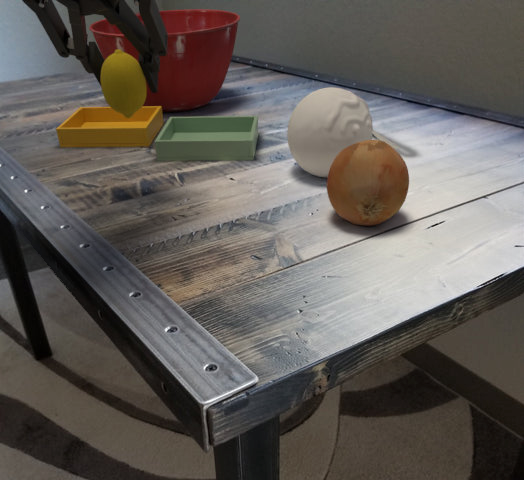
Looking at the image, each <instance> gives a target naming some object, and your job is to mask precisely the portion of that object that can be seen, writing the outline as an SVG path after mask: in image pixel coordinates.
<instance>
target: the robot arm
mask: <svg viewBox="0 0 524 480" xmlns="http://www.w3.org/2000/svg"><path fill="white" fill-rule="evenodd" d="M55 1H56V2H58V3H59V4H61V5H62V6H63V7H65V8H66V9H67V14H68V15H67V16H68V22H69V24H70V29H71V34H70V32H69V30H68V28H67V26H66V24H65V22H64V20H63V18H62V17H61V15H60V13H59V10H58V9H57V7H56V6H55V3H54V1H53V0H21V2H23V3H24V4H25V5H26V6H27V7H28V8H29V9H30V10H31V11H32V12H33V13H34V14H35V15H36V17H37V19H38V20H39V22H40V25H41V26H42V28H43V30H44V31H45V33H46V35H47V36H48V39H49V40H50V42H51V43H52V45H53V47H54V49H55V50H56V52H57V54H58V56H59V57H60V58H64V59H67V58H69V57H70V56H73V57H75V59H76V60H77V61H79V62H80V63H81V65H82V67H83V68H84V70H85V72H87V74H93V75H94V77H95V78H96V81H97V83H98V84H99V86H100V87H101V68H102V65H103V63H104V61H105V60H104V58H103V56H102V54H101V52H100V49H99V47H98V45H97V42H96V41H88V38H89V36H88V35H89V34H88V33H87V23H86V17H88V16H93V15H98V16H102V17H104V19H106V20H107V21H108V22H109V23H110V24H111V25H116V27H117V28H118V29H119V30H120V31H121V32H122V34H123V35H124V36H125V37H126V38H127V39H128V41H129V42H130V43H131V44H132V45H133V46H134V48H135V49H136V50H137V51H138V52H139V61H138V62H139V64H140V67H141V69H142V72H143V74H144V76H145V79H146V81H147V83H148V86H149V88H150V90H151V93H157V91H158V73H159V71H160V58H159V56H166V55H167V43H168V33H167V31H166V28H165V25H164V23H163V20H162V17H161V15H160V12H159V11H160V10H159V7H158V4H157V2H156V0H133V5H134V6H137V7H138V13H140V15H141V18H142V20H143V22H144V25H145V26H144V25H143V23H142V22H141V21H140V20H139V18H138V17H137V16H136V13H135V12H134V11H133V9H132V8H131V7H130V5H129V4H128V3H127V1H126V0H55ZM71 36H72V37H71Z"/></svg>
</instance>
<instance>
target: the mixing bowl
mask: <svg viewBox="0 0 524 480" xmlns="http://www.w3.org/2000/svg"><path fill="white" fill-rule="evenodd" d="M159 12H160V15H161V17H162V20H163V23H164V25H165V28H166V31H167V33H168V43H167V55H166V56H159V58H160V71H159V73H158V91H157V93H151V90H150V88H149V86H148V83H147V81H146V87H147V93H146V99H145V102H144V104H143V106H162V113H172V112H173V113H175V112H176V113H177V112H185V111H190V110H191V111H192V110H195V109H199V108H202V107H204V106H206V105H207V104H209V103H210V102H211V101H212V100H213V99H215V98H216V96H218V94H219V92H220V91H221V89H222V87H223V84H224V82H225V80H226V77H227V74H228V71H229V68H230V65H231V61H232V58H233V53H234V49H235V45H236V39H237V32H238V26H239V23H240V20H241V16H240V15H239V14H237V13H236V12H232V11H227V10H221V9H206V8H205V9H204V8H203V9H201V8H199V9H197V8H196V9H195V8H193V9H191V8H190V9H169V10H167V9H166V10H159ZM135 14H136V16H137V17H138V18H139V20H140V21H141V22H142V23H143V25H144V22H143V20H142V18H141V15H140V12H138V13H135ZM144 26H145V25H144ZM88 28H89V31H90V32H91V33H92V35H93V37H94V41H95V43H96V45H97V46H98V48H99V50H100V52H101V54H102V56H103V58H104V60H106V59H107V57H109V56H110V55H111V54H113V53H114V52H115V50H118V49H120V50H122V51H123V52H124V53H127V54H129V55H131V56H132V57H134V58H135V59H136V60H137V61H139V52H138V51H137V50H136V49H135V48H134V46H133V45H132V44H131V43H130V42H129V41H128V39H127V38H126V37H125V36H124V35H123V34H122V32H121V31H120V30H119V29H118V28H117V27H116V25H111V24H110V23H109V22H108V21H107V20H106V18H104V19H100V20H97V21H95V22H92V23H91V24H90V25H89V27H88ZM138 63H139V62H138ZM145 80H146V79H145Z"/></svg>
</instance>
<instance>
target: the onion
mask: <svg viewBox="0 0 524 480" xmlns="http://www.w3.org/2000/svg"><path fill="white" fill-rule="evenodd" d="M409 173H410V172H409V169H408V165H407V163H406V161H405V159H404V158H403V157H402V155H401V154H400V153H399V152H398V151H397V149H395V148H392V147H391V146H390V145H389V144H387V143H386V142H384V141H380V140H379V139H372V140H365V141H361V142H358V143H355V144H352V145H350V146H348V147H346V148H345V149H343V150H342V151H341V152H340V153H339V154H338V155H337V156H336V158H335V159H334V161H333V163H332V165H331V167H330V170H329V174H328V178H326V192H327V195H328V200H329V203H330V205H331V207H332V208H333V210H334V211H335V212H336V213H337V215H339V217H341V218H342V219H344V220H345V221H347V222H349V223H351V224H353V225H359V226H367V227H368V226H369V227H370V226H377V225H380V224H382V223H384V222H386V221H387V220H389V219H391V218H392V217H393V216H395V215H396V214H397V213H398V212H399V211H400V209H402V207H403V205H404V203H405V202H406V199H407V196H408V192H409V188H410V174H409Z"/></svg>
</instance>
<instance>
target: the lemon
mask: <svg viewBox="0 0 524 480" xmlns="http://www.w3.org/2000/svg"><path fill="white" fill-rule="evenodd" d="M100 88H101V91H102V95H103V97H104V100H105V102H106V103H107V105H108V107H111V108H112V109H113V110H115V111H116V112H119V113H121V114H123V115H124V116H125V117H126V118H131V117H132V116H133V114H134V113H135V112H136V111H138V110H139V109H140V108H141V107H142V106H143V104H144V102H145V99H146V93H147V87H146V80H145V76H144V74H143V72H142V69H141V67H140V64H139V63H138V61H137V60H136V59H135V58H134V57H132V56H131V55H129V54H127V53H124V52H123V51H122V50H120V49H118V50H115V52H114V53H113V54H111V55H110V56H109V57H107V59H106V60H105V61H104V63H103V65H102V68H101V86H100Z"/></svg>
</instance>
